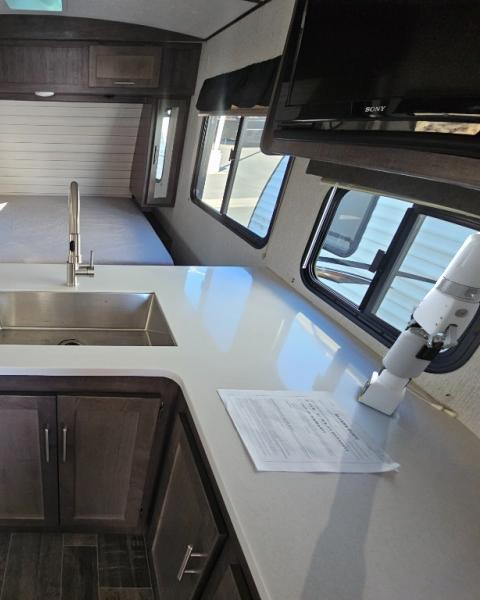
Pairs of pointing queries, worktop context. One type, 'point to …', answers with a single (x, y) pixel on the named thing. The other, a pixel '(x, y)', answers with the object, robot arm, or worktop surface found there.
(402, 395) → the white piece
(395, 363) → the can
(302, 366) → the worktop surface
